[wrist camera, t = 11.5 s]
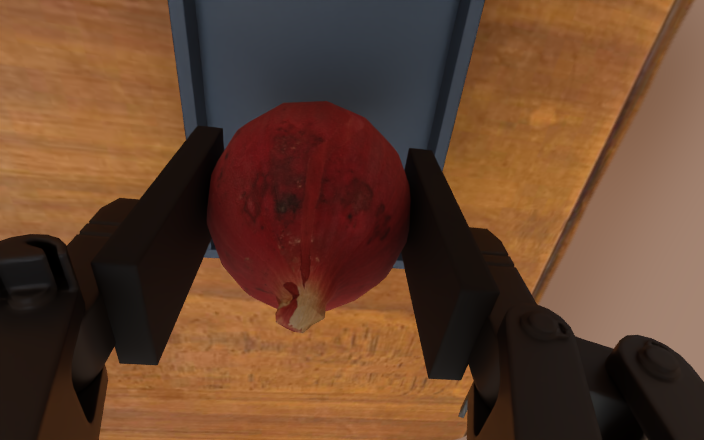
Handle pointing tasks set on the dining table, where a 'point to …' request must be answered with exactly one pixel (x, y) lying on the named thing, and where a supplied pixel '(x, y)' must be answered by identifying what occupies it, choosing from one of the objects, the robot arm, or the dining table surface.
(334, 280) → the onion
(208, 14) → the tray
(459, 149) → the dining table surface
